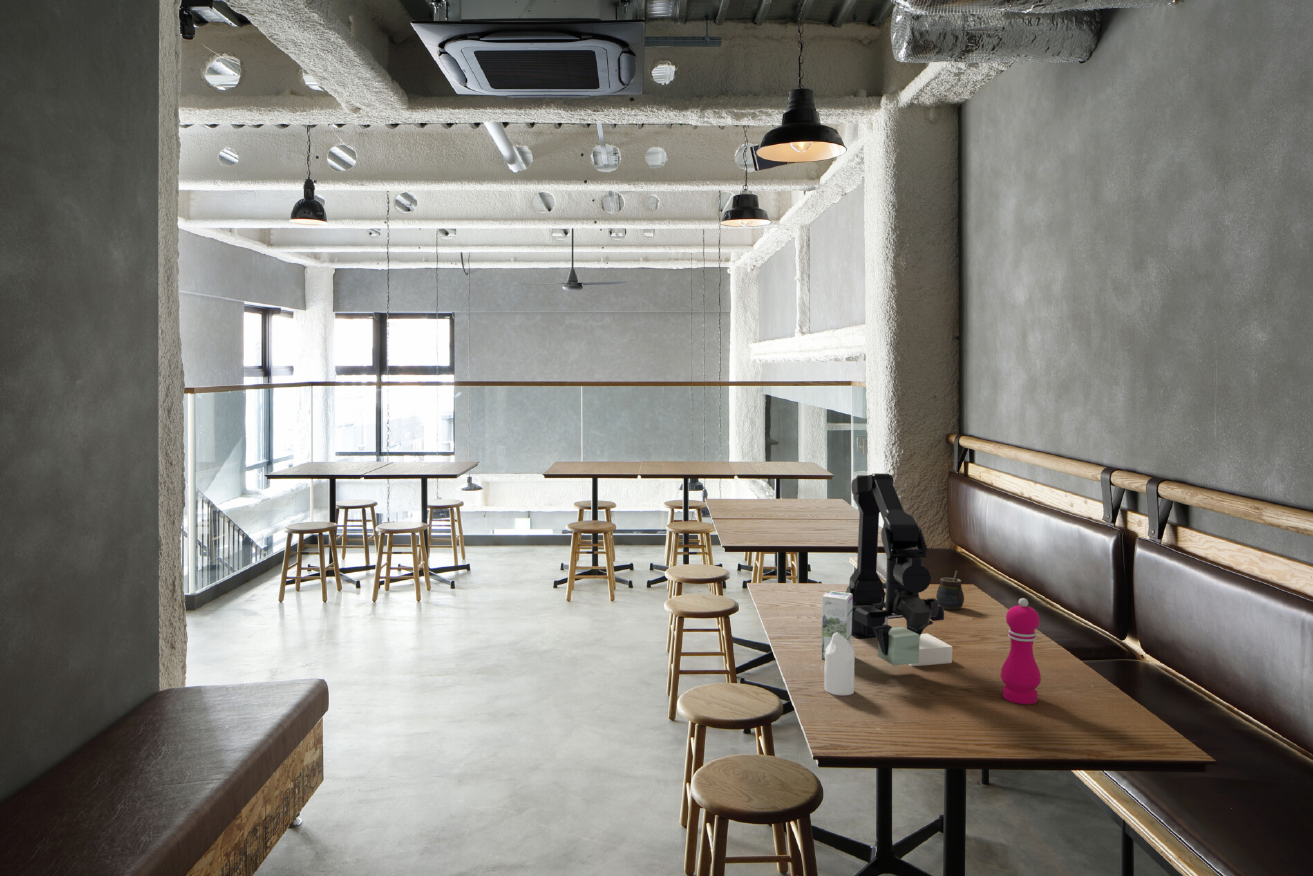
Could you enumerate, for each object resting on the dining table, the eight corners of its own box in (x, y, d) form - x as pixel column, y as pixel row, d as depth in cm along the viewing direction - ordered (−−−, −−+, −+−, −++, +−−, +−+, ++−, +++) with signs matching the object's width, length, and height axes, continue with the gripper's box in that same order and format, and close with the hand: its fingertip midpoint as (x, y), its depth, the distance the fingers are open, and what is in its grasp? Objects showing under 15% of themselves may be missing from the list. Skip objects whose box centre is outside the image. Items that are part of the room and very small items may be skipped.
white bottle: (859, 631, 167) (849, 638, 162) (858, 689, 168) (847, 698, 163) (831, 626, 170) (820, 633, 166) (830, 683, 171) (819, 691, 167)
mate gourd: (933, 609, 228) (934, 573, 228) (939, 603, 235) (940, 568, 234) (960, 613, 224) (961, 576, 224) (966, 607, 231) (967, 571, 230)
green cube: (878, 656, 179) (878, 629, 178) (902, 654, 181) (902, 626, 180) (894, 665, 173) (894, 637, 173) (918, 663, 175) (919, 635, 175)
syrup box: (851, 655, 189) (853, 592, 188) (846, 663, 184) (847, 598, 183) (826, 651, 192) (828, 589, 191) (820, 659, 186) (821, 595, 185)
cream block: (888, 653, 192) (888, 636, 192) (926, 650, 194) (927, 633, 194) (911, 667, 182) (911, 649, 182) (951, 664, 185) (952, 646, 184)
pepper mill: (1037, 708, 159) (1041, 605, 157) (996, 700, 163) (1000, 599, 161) (1042, 696, 165) (1046, 597, 164) (1003, 689, 169) (1006, 591, 167)
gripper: (883, 593, 165) (881, 670, 166) (962, 586, 171) (960, 661, 172) (853, 580, 176) (851, 653, 177) (929, 574, 182) (927, 645, 183)
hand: (898, 653), depth 177 cm, fingers closed on green cube, 6 cm apart
